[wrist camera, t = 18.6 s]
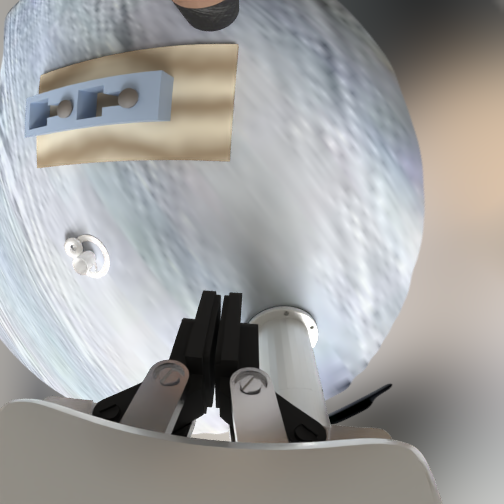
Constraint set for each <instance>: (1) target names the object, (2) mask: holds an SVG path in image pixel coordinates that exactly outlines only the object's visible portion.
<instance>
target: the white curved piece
mask: <svg viewBox="0 0 504 504" xmlns="http://www.w3.org/2000/svg"><path fill="white" fill-rule="evenodd" d="M84 241H90V242H93V243H95V244H96V245H97V246H98V247H99V248H100V249H101V251H102V253H103V255H104V266H103V268H102V269H101V270H100V271H98V272H97V264H96V262H95V261H96V256H95V254H94V253H93V252H92V251H85V252H83V246H82V244H81V243H82V242H84ZM71 245H73V246H72V249H71ZM64 248H65V251H66V253H67V254H68V255H69V256H70V257H73V259H74V260H73V268H74V270H75V271H76V272H77V273H78V274H80V275H87V276H89V277H92V278H100V277H102V276H104V275H105V274H106V273H107V272H108V270H109V266H110V258H109V254H108V252H107V250H106V248H105V246H104V245H103V244H102V242H101V241H99V240H98V239H97V238H95V237H93V236H91V235H81V236H79V237H78V238H69V239H67V240H66V242H65V245H64ZM93 265H95V268H96V271H95V272H91V271H90V269H91V268H92V266H93Z"/></svg>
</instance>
